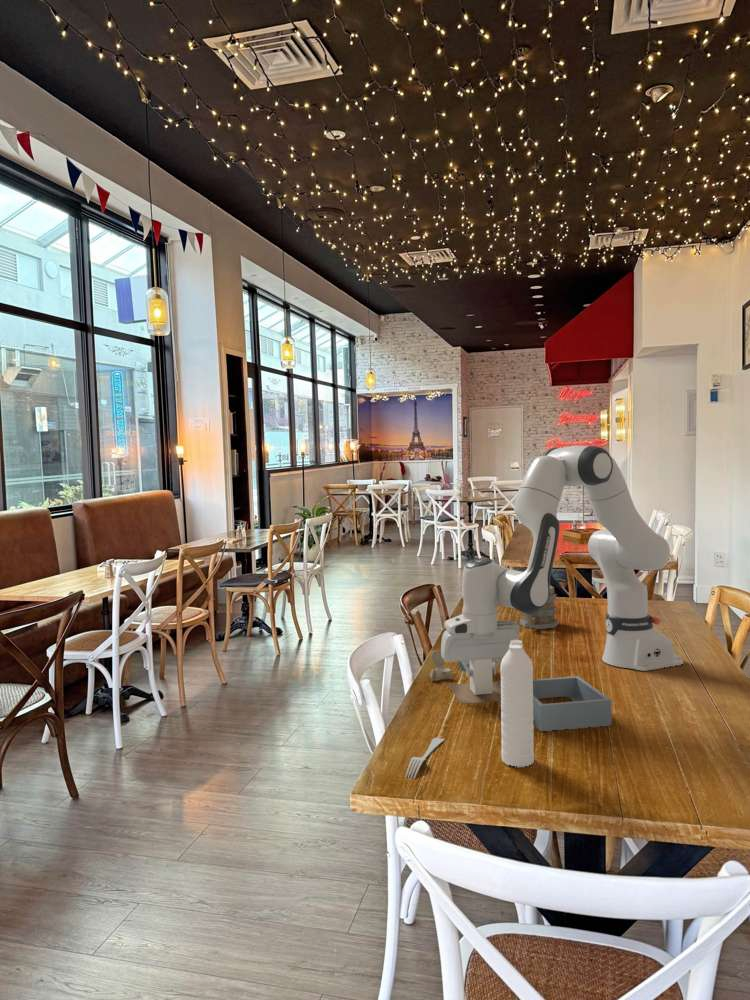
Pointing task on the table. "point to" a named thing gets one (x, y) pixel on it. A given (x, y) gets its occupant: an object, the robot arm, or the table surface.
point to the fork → (432, 746)
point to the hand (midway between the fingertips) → (480, 675)
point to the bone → (439, 668)
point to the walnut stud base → (468, 696)
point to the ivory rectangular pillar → (481, 676)
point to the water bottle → (517, 707)
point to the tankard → (542, 615)
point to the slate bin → (569, 705)
